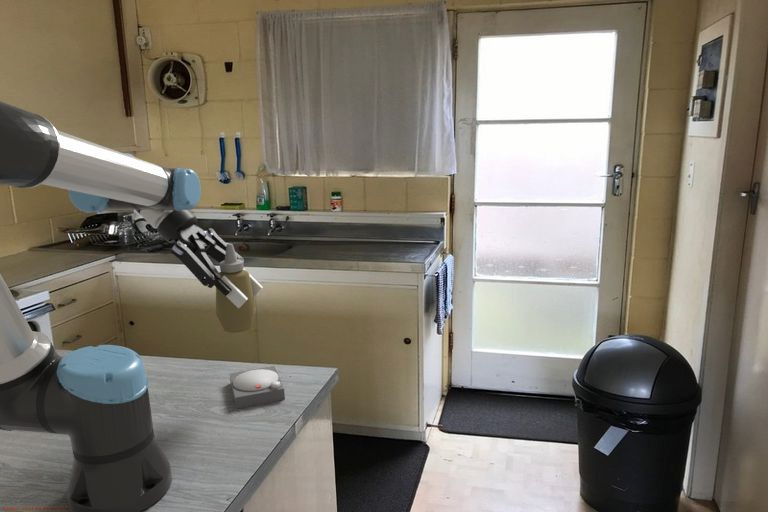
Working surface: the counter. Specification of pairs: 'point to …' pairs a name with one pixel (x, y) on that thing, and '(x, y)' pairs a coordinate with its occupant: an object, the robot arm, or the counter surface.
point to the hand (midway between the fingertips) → (251, 297)
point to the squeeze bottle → (235, 272)
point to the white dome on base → (256, 386)
